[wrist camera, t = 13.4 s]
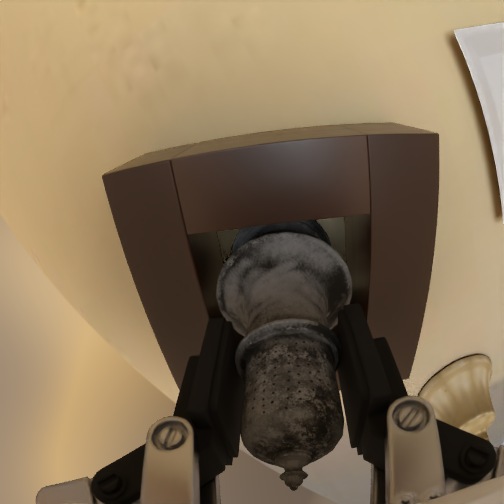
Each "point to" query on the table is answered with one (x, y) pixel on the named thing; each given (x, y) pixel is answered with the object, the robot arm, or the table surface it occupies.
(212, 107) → the table surface
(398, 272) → the holder
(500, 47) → the dessert
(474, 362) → the hand bell
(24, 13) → the table surface
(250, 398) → the chess piece
